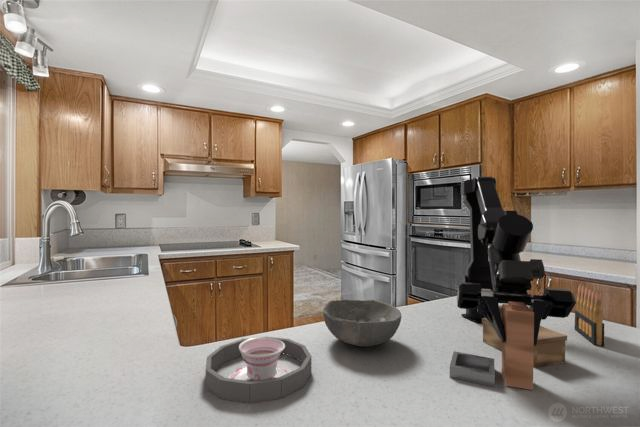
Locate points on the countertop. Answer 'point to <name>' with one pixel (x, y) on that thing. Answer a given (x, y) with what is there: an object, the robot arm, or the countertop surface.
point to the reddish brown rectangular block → (518, 345)
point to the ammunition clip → (589, 316)
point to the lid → (544, 333)
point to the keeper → (473, 374)
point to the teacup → (260, 359)
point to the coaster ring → (259, 388)
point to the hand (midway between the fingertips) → (519, 343)
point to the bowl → (361, 321)
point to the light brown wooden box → (542, 353)
